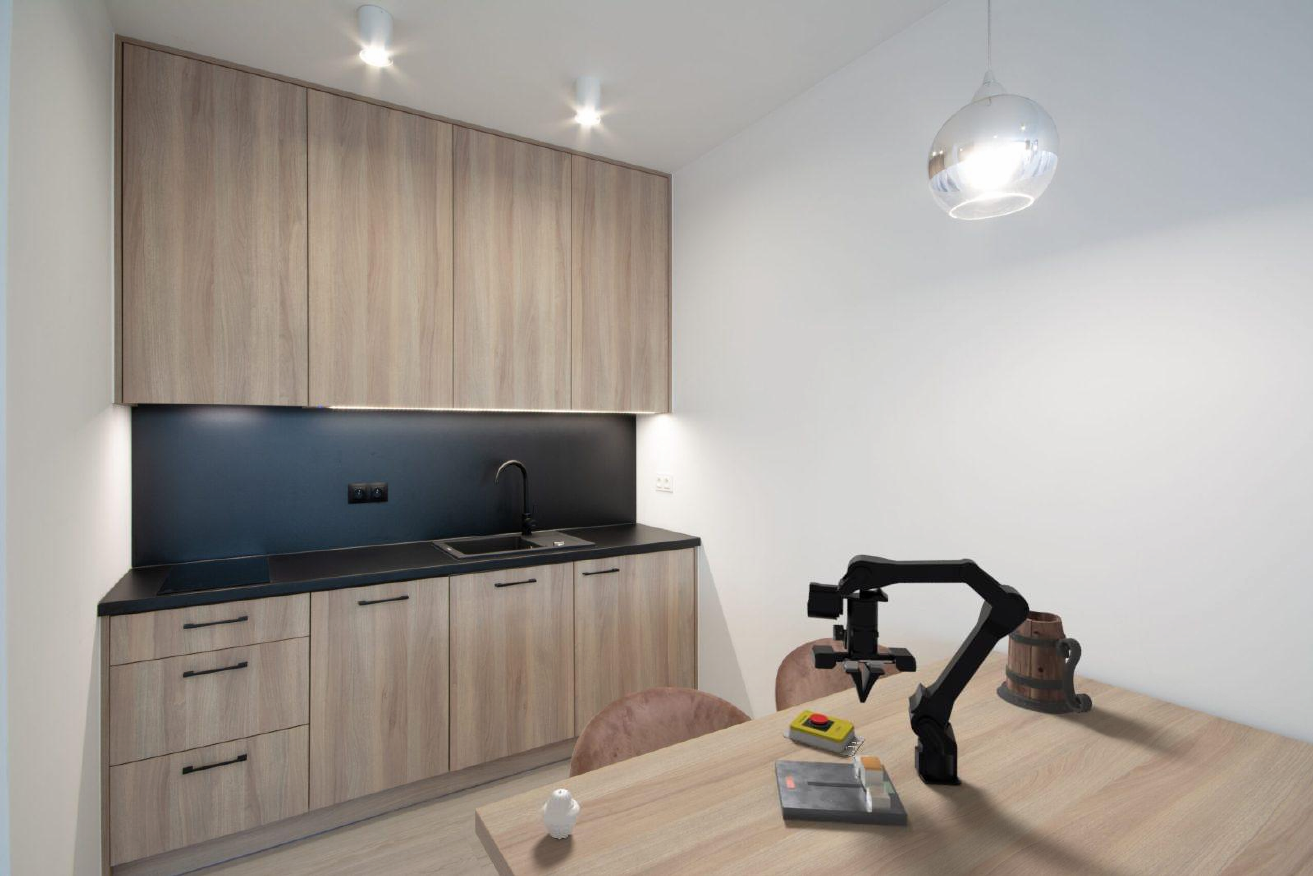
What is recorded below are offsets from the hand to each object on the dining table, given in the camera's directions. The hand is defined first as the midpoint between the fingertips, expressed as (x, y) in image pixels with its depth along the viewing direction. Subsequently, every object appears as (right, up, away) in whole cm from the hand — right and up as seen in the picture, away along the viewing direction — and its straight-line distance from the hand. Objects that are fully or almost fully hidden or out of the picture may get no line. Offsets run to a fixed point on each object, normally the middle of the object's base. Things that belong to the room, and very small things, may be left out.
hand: (862, 702), depth 122 cm
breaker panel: (-8, -12, -11) cm, 18 cm away
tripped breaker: (-2, -10, -11) cm, 15 cm away
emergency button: (-5, -13, +11) cm, 17 cm away
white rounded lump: (-55, -13, -20) cm, 60 cm away
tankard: (+52, -12, +26) cm, 59 cm away
